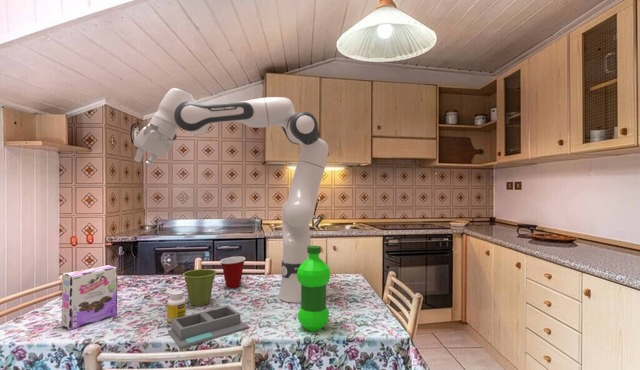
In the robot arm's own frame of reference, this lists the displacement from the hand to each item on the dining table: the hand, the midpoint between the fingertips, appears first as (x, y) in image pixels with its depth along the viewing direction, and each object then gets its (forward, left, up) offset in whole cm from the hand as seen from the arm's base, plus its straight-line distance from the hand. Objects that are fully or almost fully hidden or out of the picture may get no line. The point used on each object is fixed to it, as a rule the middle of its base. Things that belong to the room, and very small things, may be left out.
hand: (142, 163), depth 117 cm
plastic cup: (-36, -3, -52) cm, 63 cm away
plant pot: (-18, +8, -52) cm, 55 cm away
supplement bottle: (-6, +21, -52) cm, 56 cm away
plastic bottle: (-38, +51, -52) cm, 82 cm away
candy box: (+15, +2, -52) cm, 54 cm away
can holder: (-12, +33, -52) cm, 62 cm away
